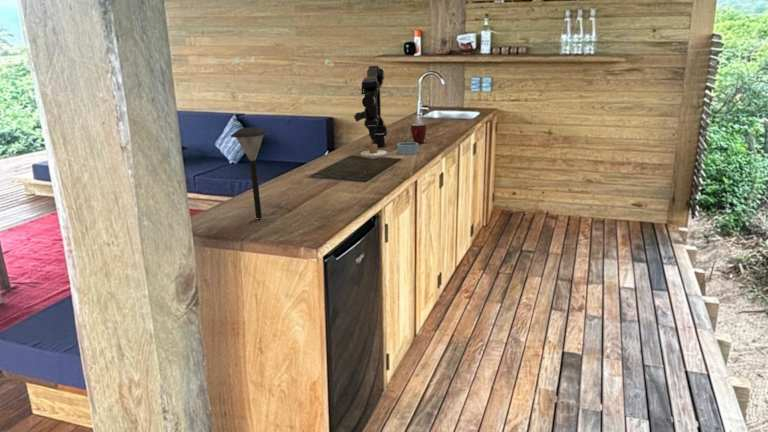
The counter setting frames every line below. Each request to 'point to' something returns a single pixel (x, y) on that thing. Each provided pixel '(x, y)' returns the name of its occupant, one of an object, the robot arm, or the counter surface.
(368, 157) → the mat
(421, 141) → the mug
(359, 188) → the counter surface
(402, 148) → the bowl
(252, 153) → the solar garden light
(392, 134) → the counter surface
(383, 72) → the robot arm
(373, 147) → the lid
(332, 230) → the counter surface
